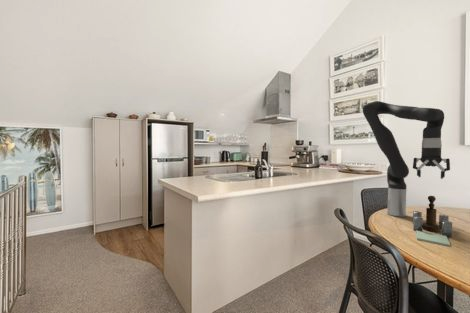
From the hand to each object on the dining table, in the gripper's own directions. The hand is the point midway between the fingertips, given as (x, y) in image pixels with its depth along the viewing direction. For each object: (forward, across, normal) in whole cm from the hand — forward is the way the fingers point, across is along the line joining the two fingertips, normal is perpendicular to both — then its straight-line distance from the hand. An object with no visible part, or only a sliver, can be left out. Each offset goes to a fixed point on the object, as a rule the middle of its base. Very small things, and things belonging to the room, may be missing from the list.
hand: (430, 177), depth 111 cm
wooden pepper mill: (+28, +1, -1) cm, 28 cm away
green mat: (+27, +2, -15) cm, 31 cm away
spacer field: (+27, +1, -1) cm, 27 cm away
